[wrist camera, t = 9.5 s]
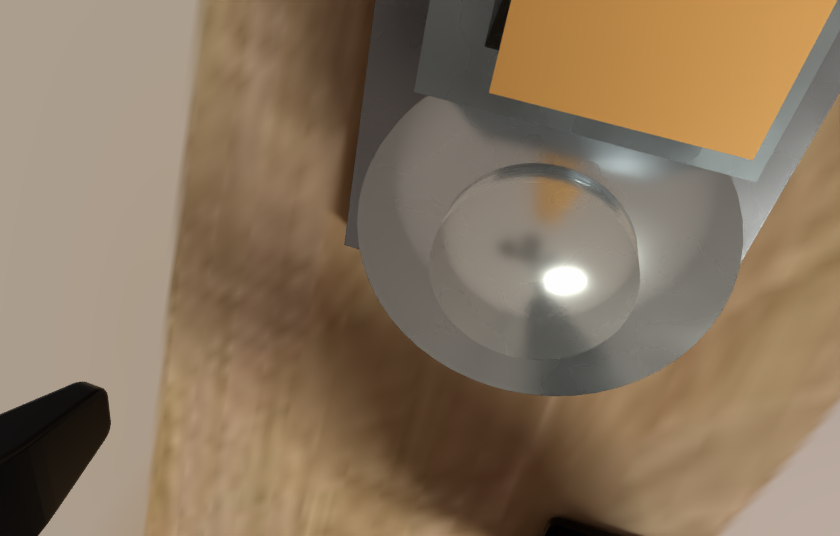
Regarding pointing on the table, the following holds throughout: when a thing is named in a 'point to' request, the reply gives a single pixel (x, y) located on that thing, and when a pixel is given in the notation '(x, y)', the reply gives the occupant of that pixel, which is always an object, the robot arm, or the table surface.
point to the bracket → (548, 210)
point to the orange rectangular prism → (661, 63)
